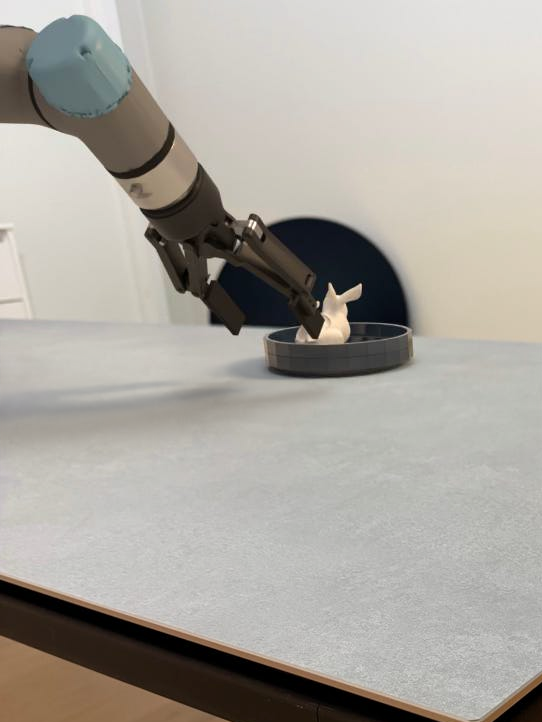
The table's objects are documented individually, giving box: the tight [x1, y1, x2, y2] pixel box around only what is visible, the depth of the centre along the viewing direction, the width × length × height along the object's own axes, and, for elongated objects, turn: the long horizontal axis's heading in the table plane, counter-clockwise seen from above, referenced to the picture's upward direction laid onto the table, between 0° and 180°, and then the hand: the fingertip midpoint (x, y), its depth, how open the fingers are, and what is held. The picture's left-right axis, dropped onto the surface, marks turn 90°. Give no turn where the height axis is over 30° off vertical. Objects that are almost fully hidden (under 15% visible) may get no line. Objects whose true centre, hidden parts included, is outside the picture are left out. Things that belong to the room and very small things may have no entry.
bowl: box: [262, 322, 414, 377], centre depth 125 cm, size 19×19×4 cm
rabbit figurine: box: [295, 282, 363, 344], centre depth 122 cm, size 12×8×10 cm, turn 148°
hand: (278, 327), depth 113 cm, fingers open, 10 cm apart
